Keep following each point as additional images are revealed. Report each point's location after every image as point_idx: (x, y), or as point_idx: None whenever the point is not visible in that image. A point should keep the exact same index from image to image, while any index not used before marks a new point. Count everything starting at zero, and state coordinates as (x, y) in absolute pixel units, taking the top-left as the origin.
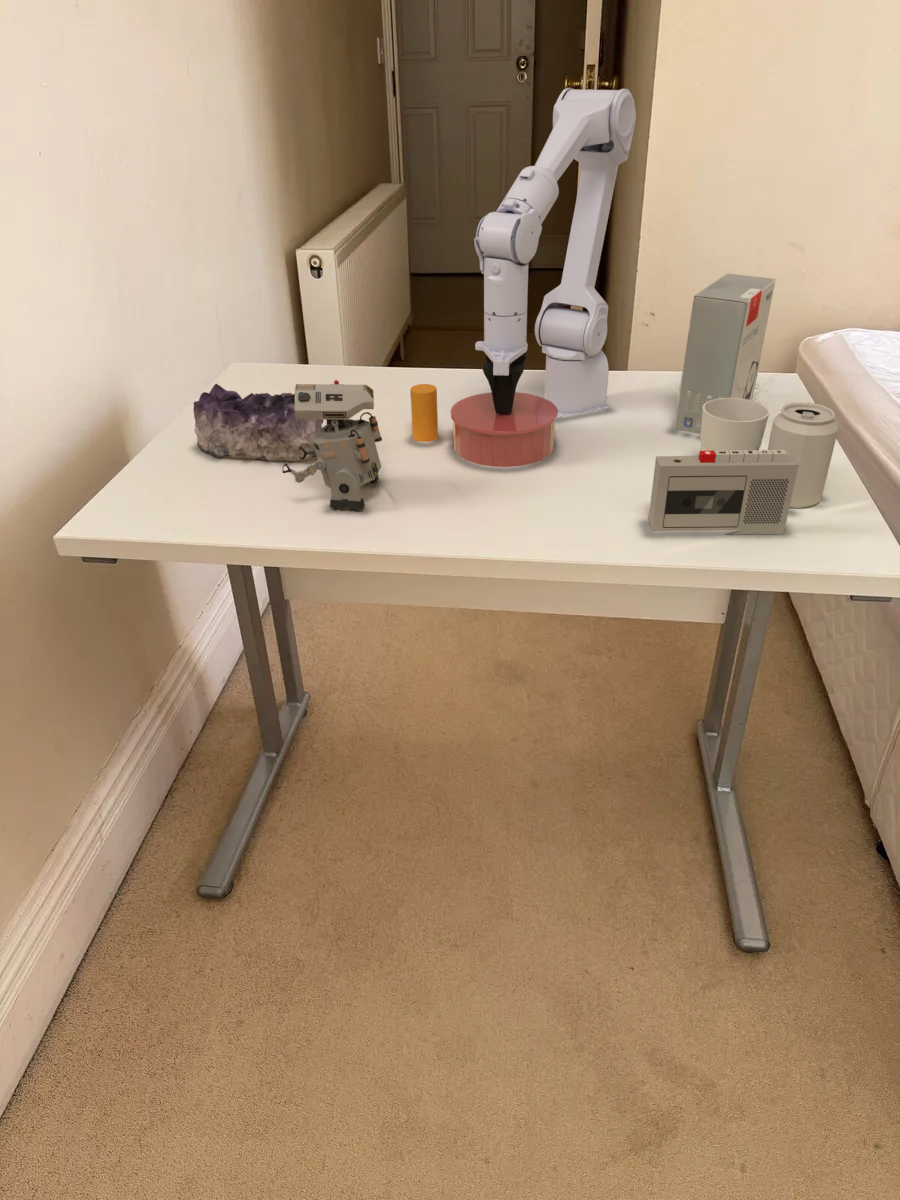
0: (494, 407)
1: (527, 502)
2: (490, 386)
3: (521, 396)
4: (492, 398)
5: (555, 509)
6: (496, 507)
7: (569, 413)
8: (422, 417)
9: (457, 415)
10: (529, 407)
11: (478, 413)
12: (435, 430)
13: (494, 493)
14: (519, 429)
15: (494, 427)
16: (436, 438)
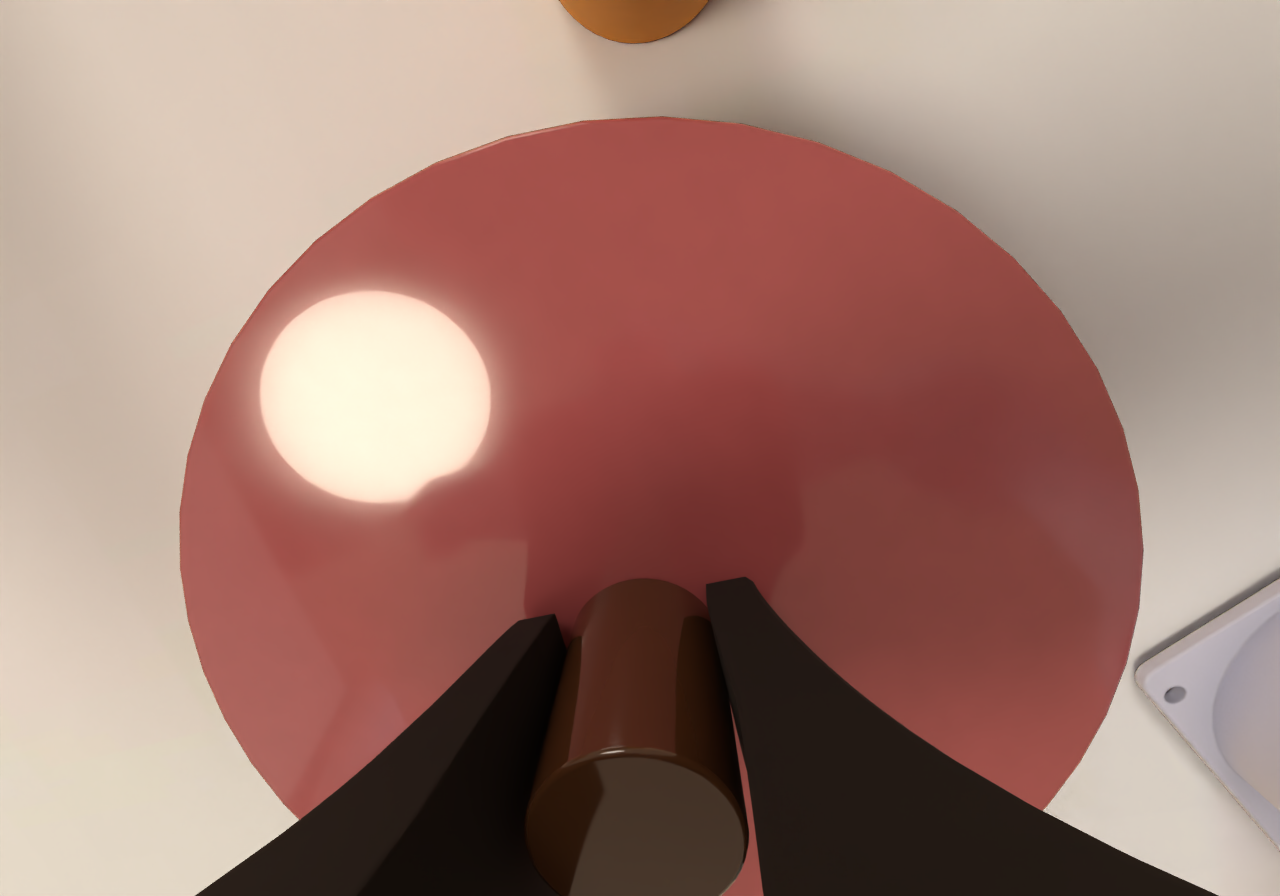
0: (497, 640)
1: (163, 739)
2: (269, 846)
3: (1019, 691)
4: (923, 465)
5: (169, 836)
6: (50, 642)
7: (1209, 729)
8: None
9: (369, 278)
10: None
11: (502, 457)
12: (601, 2)
13: (161, 600)
14: None
15: (271, 667)
16: (619, 32)
